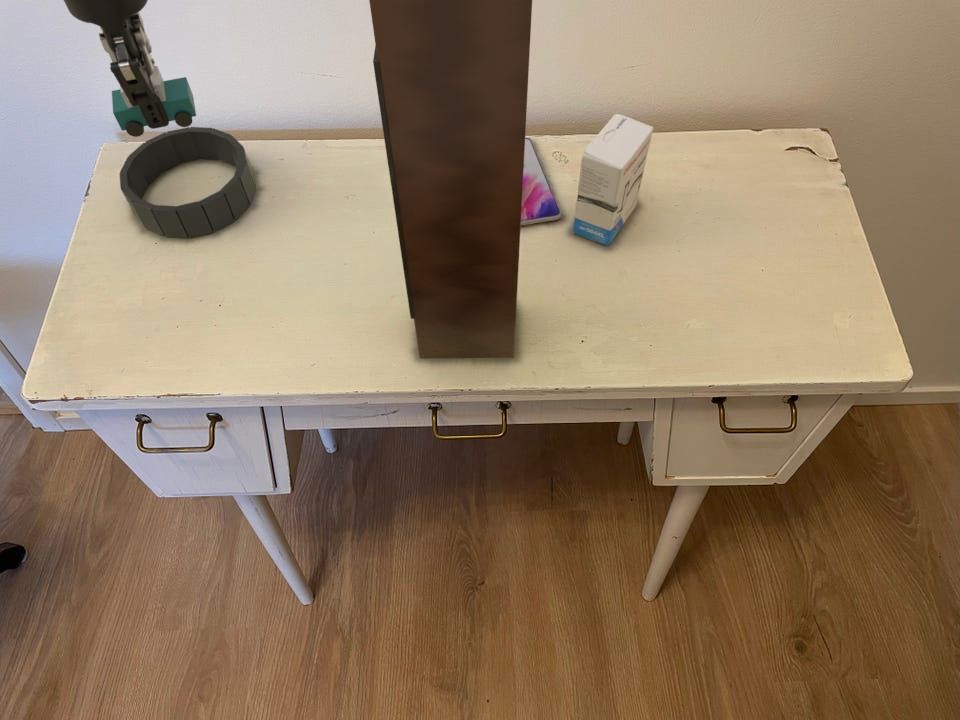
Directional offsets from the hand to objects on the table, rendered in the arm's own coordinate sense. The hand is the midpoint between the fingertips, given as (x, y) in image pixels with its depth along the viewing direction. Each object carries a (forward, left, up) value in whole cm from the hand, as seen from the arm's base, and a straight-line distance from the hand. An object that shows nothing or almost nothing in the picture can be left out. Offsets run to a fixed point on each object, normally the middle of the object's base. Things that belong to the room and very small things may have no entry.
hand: (158, 112), depth 81 cm
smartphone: (+39, -11, -12) cm, 42 cm away
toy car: (0, 0, -1) cm, 1 cm away
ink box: (+47, -20, -13) cm, 53 cm away
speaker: (+26, -31, -12) cm, 42 cm away
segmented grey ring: (0, 0, -12) cm, 12 cm away
